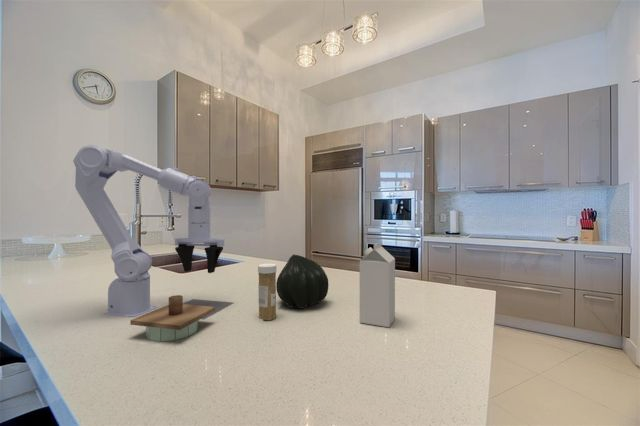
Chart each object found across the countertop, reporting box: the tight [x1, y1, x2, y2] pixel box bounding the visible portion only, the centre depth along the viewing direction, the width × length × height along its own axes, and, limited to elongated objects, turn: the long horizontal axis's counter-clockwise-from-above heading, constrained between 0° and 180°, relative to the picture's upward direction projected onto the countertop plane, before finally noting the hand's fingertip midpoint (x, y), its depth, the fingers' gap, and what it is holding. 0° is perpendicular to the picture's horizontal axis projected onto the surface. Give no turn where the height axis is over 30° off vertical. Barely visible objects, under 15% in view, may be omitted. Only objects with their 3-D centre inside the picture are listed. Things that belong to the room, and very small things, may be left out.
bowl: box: [145, 320, 199, 342], centre depth 65 cm, size 10×10×3 cm
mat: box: [183, 298, 234, 321], centre depth 81 cm, size 14×14×1 cm
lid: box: [129, 294, 215, 330], centre depth 66 cm, size 12×12×4 cm
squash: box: [276, 254, 329, 309], centre depth 87 cm, size 14×15×15 cm
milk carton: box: [359, 241, 396, 328], centre depth 73 cm, size 7×7×19 cm
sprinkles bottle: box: [257, 262, 277, 321], centre depth 75 cm, size 5×5×14 cm
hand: (199, 271), depth 83 cm, fingers open, 7 cm apart
